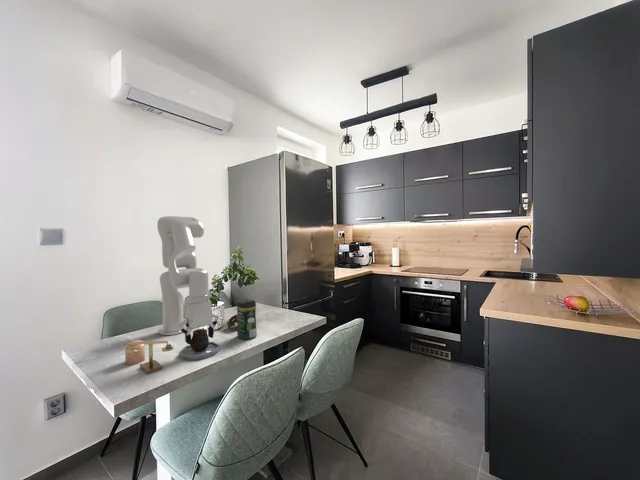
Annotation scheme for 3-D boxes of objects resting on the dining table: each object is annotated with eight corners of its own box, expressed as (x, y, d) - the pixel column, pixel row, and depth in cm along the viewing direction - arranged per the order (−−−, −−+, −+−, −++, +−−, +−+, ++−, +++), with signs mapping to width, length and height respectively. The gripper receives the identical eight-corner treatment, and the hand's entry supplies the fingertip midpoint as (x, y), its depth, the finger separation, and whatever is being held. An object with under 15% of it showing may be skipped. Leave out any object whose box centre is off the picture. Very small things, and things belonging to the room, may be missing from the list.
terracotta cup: (122, 361, 109) (122, 342, 109) (140, 356, 114) (140, 337, 114) (128, 366, 106) (128, 346, 105) (147, 360, 111) (147, 341, 111)
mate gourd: (203, 344, 123) (204, 322, 123) (212, 349, 118) (213, 326, 118) (187, 349, 117) (187, 326, 117) (195, 355, 112) (196, 330, 112)
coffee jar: (234, 336, 136) (234, 298, 136) (249, 332, 142) (248, 295, 142) (244, 341, 129) (243, 301, 129) (259, 337, 135) (258, 298, 134)
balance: (123, 372, 100) (122, 341, 100) (169, 358, 112) (168, 330, 112) (129, 380, 95) (128, 346, 95) (177, 364, 107) (176, 334, 107)
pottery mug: (245, 331, 144) (237, 319, 143) (230, 339, 146) (222, 326, 144) (252, 319, 156) (244, 307, 154) (237, 326, 157) (229, 314, 156)
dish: (174, 353, 117) (174, 349, 117) (208, 343, 128) (208, 339, 128) (189, 363, 107) (189, 359, 107) (225, 351, 118) (225, 347, 118)
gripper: (214, 295, 126) (215, 332, 126) (173, 302, 113) (174, 344, 113) (222, 297, 121) (223, 336, 121) (181, 304, 108) (182, 348, 108)
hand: (200, 340), depth 117 cm, fingers open, 9 cm apart
